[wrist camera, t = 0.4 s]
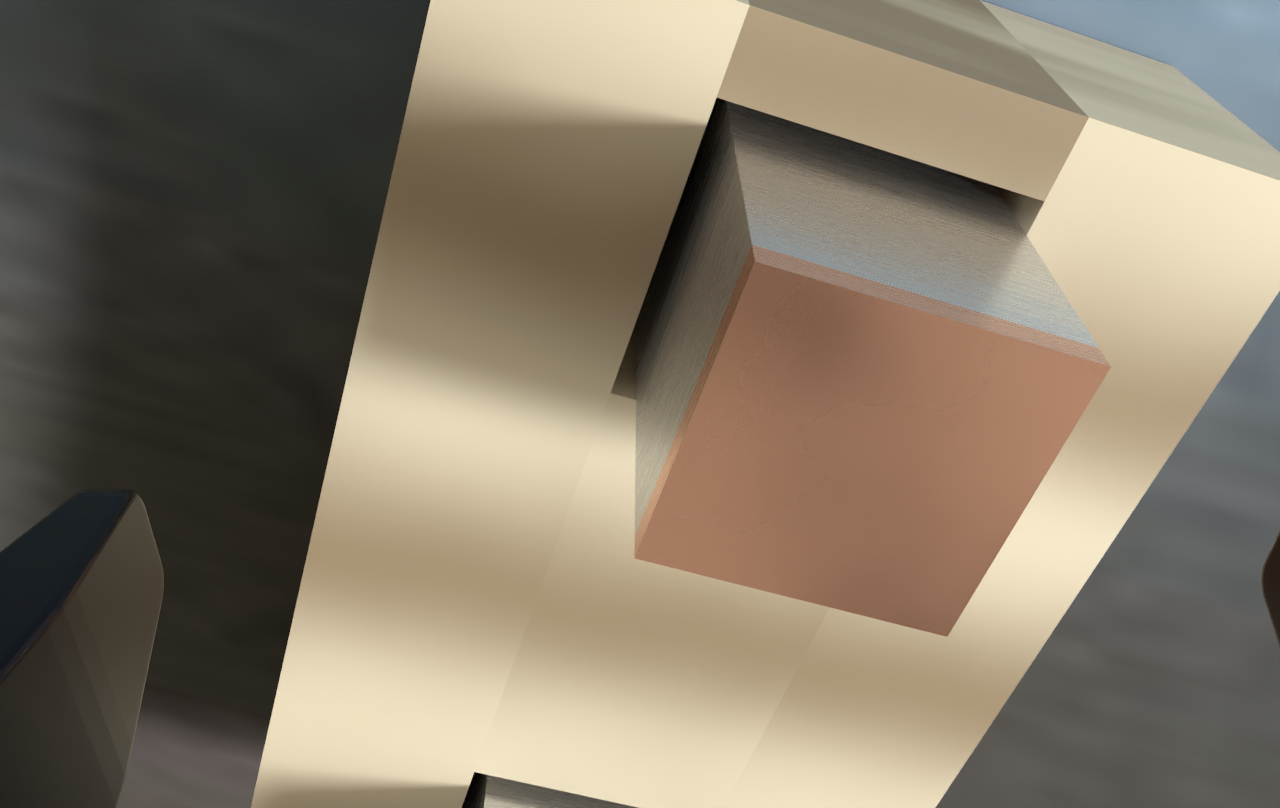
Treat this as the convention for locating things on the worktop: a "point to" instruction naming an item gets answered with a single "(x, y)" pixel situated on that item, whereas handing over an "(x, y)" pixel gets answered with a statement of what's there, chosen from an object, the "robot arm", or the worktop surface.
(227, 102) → the worktop surface
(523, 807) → the peg
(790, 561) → the peg
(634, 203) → the socket block
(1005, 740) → the worktop surface
